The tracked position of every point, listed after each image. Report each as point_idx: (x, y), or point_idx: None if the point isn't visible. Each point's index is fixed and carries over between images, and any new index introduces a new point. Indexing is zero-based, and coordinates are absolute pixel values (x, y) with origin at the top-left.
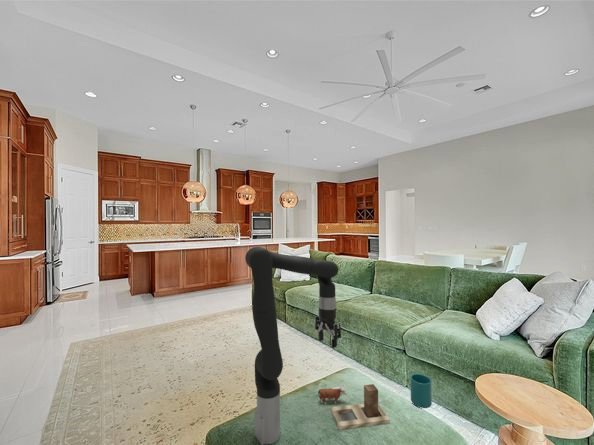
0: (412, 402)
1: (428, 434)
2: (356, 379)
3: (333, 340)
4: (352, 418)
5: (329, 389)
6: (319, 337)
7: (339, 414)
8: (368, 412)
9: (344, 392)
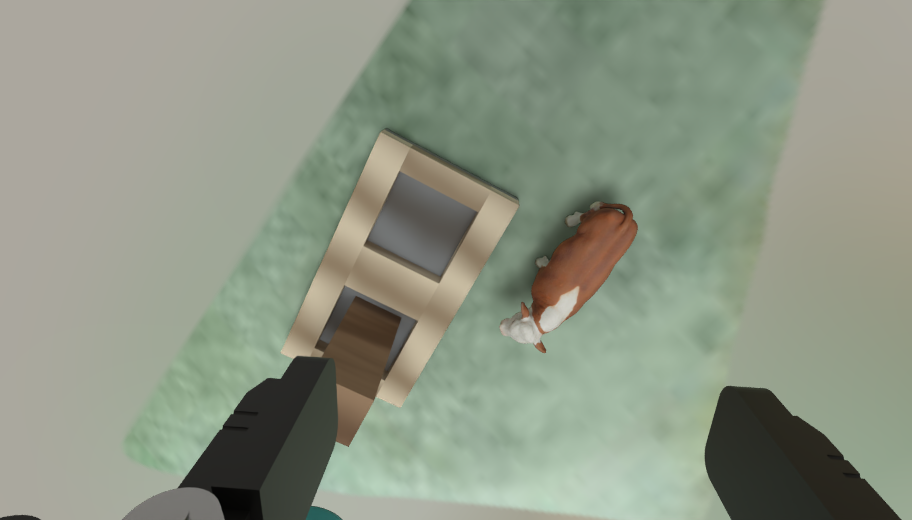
0: (327, 511)
1: (178, 403)
2: (611, 485)
3: (227, 477)
4: (405, 243)
5: (583, 271)
6: (780, 432)
7: (467, 215)
8: (348, 311)
9: (509, 323)
